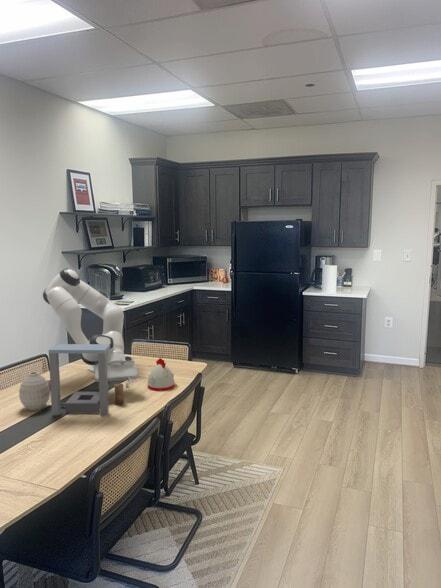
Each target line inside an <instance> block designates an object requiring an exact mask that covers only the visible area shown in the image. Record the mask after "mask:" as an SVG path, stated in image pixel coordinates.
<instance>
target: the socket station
mask: <svg viewBox="0 0 441 588" xmlns="http://www.w3.org/2000/svg"><path fill="white" fill-rule="evenodd" d="M109 348H110V344H75V343H72V344H71V343H66V344H65V343H57V344H55V345H53V346H52V347H51V348H49V349H48V363H49V366H48V367H49V380H50V386H51V390H50V399H51V416H60V415H61V414H62V396H61V395H62V394H61V379H60V361H59V354H80V353H94V354H98V372H99V382H98V391H75V392H74V393H73V394H72V395H71V396H70V397H69V398H68V399H67V400H66V402H64V406H65V414H98V412H99V416H108V414H109V413H110V411H109V410H110V409H109V390H108V386H109V384H108V382H109V381H108V377H107V351H108V350H109Z"/></svg>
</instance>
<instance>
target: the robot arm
mask: <svg viewBox="0 0 441 588" xmlns="http://www.w3.org/2000/svg"><path fill="white" fill-rule="evenodd" d="M42 292H43V293H42V299H43V300H44V301H45V303H46V304H48V305H50V306H51V308H52V309H53V311H54V312H55V314H56V315H57V316H58V317H59V319H60V321H61V322H62V324H63V326H64V329H65V330H66V332H67V334H68V336H69V337H70V339H71V340H72V342H73V344H110V348H109V350H108V351H107V377H108V382H116V381H117V382H118V381H127V382H125V388H126V389H128V388H130V384H131V382H132V380H136V379H138V377H139V370H138V369H139V368H138V366H137V364H136V362H135V358H134V356H133V357H132V356H128V355H125V343H124V338H123V330H124V329H123V327H124V319H125V315H124V311H123V309H122V308H121V307H120V306H119V305H117V304H116V303H114V302H113V300H110V299H109V298H108V297H106V296H105V295H104V294H102V293H101V292H99V291H98V290H96V289H95V288H94V287H92V286H91V285H89V284H88V283H86V282H85V281H83V280H81V279H80V276H79V273H77V272H76V271H75V270H74V269H72V268H63V269H62V270H61V271H59V273H58V274H57V275H56V276H55V277H54V278H53V279H52V280H51V282H50V283H49V284H48V286H47V287H46V288H45V289H44V291H42ZM79 304H80V305H81V306H83V307H84V308H85V309H86V310H88V311H90V312H91V313H93V314H95V315H96V316H98V317H99V318H101V319H102V321H103V324H102V325H103V326H102V327H103V328H102V334H93V335H92V336H91V337H90V338H89V340H88V338H87V337H86V335H85V333H84V332H83V330H82V326H81V325H82V324H81V323H82V321H81V320H82V314H83V313H82V311H83V310H82V308H81V307H80V305H79ZM79 355H80V358H81V360H82V362H83V363H85V364H87V365H88V367H87V371H89V372H92V373H94V382H96V383H99V372H98V354H94V353H79ZM109 389H110V387H109V385H108V391H109Z"/></svg>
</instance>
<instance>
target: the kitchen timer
mask: <svg viewBox="0 0 441 588" xmlns="http://www.w3.org/2000/svg"><path fill="white" fill-rule="evenodd" d="M155 362H156V366H154V367H153V368H152V369H151V372H150V373H149V374H148V379H147V388H148V389H149V390H150V391H154V392H164V391H165V392H166V391H171V390H172V389H174V388H175V383H176V382H175V378H174V377H175V376H174V372H173V371H171V369H170V368H169V367H168V366H167V364H166V363H167V362H165V359H163V358H161V357H159V358H158V359H156V361H155Z"/></svg>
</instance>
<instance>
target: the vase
mask: <svg viewBox="0 0 441 588" xmlns="http://www.w3.org/2000/svg"><path fill="white" fill-rule="evenodd" d="M46 380H47V379H46V378H45V377H44V376H43V375H41V374H40V373H39V372H38V371H30V372H29V373H28V375H27V376H26V377H25V378H24V379H23V380H22V382H21V384H20V386H19V389H18V394H19V395H18V396H19V397H18V398H19V401H20V403H21V404H22V405H23V407H24V408H26V409H27V411H30V412H31V411H32V412H35V411H40V410H42V409H43V408H44V407H45V406H46V405H47V404H48V401H49V399H50V397H51V390H50V388H49V384H48V382H47V381H46Z"/></svg>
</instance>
